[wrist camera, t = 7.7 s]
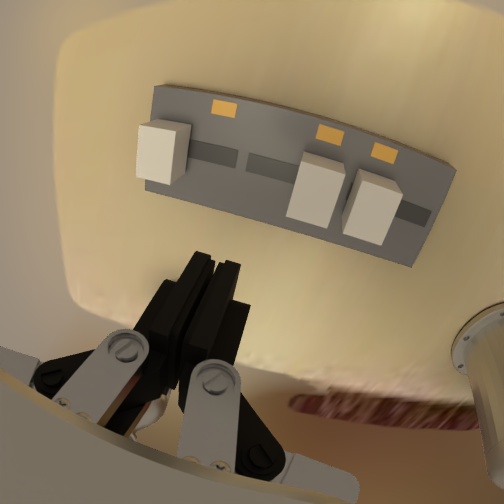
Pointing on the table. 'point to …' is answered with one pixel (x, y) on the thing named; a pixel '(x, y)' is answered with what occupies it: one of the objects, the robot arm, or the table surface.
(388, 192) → the slider
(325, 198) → the slider
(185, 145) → the slider
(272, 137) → the switch deck
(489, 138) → the table surface
